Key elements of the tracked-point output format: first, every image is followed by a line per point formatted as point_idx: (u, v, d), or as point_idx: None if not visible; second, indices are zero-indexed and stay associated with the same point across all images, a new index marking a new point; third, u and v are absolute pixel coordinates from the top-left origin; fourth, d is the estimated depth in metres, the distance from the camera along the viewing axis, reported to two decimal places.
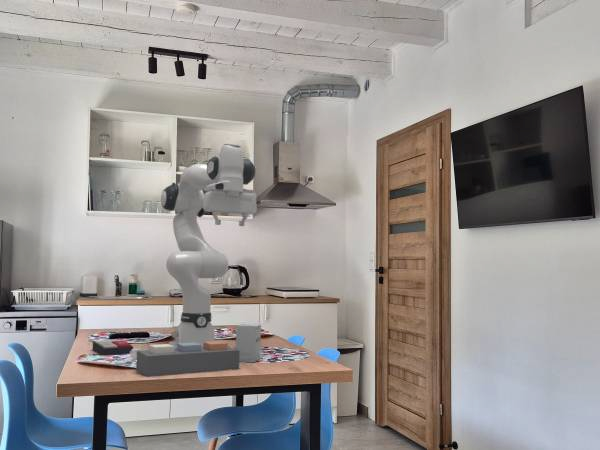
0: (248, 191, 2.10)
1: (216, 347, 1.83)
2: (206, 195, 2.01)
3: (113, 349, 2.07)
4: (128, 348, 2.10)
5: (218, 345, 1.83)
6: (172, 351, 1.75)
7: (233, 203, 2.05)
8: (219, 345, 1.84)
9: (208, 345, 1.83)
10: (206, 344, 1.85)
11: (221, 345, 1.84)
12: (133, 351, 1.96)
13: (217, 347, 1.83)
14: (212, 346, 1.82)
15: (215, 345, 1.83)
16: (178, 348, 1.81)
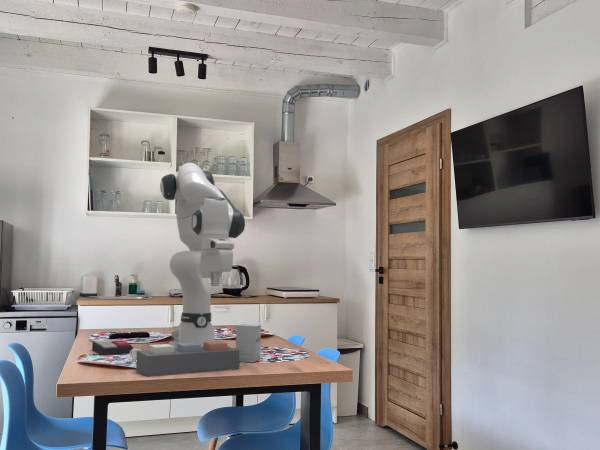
0: None
1: (216, 347, 1.83)
2: (227, 254, 1.80)
3: (113, 349, 2.07)
4: (128, 348, 2.10)
5: (218, 345, 1.83)
6: (172, 351, 1.75)
7: None
8: (219, 345, 1.84)
9: (208, 345, 1.83)
10: (206, 344, 1.85)
11: (221, 345, 1.84)
12: (133, 351, 1.96)
13: (217, 347, 1.83)
14: (212, 346, 1.82)
15: (215, 345, 1.83)
16: (178, 348, 1.81)
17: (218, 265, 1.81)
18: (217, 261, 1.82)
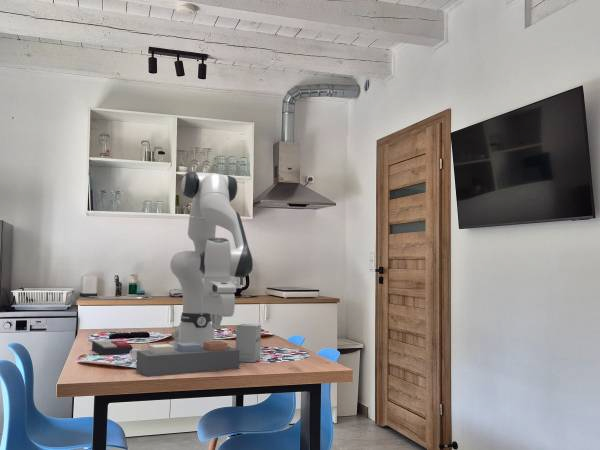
0: None
1: (216, 347, 1.83)
2: (229, 299, 1.79)
3: (113, 349, 2.07)
4: (128, 348, 2.11)
5: (218, 345, 1.83)
6: (172, 351, 1.75)
7: None
8: (219, 345, 1.84)
9: (208, 345, 1.83)
10: (206, 344, 1.85)
11: (221, 345, 1.84)
12: (133, 351, 1.95)
13: (217, 347, 1.83)
14: (212, 346, 1.82)
15: (215, 345, 1.83)
16: (178, 348, 1.81)
17: (220, 309, 1.80)
18: (219, 305, 1.81)
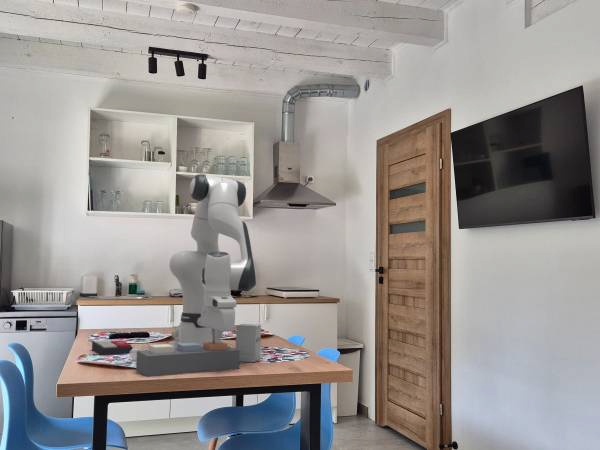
0: None
1: (216, 347, 1.83)
2: (229, 313, 1.79)
3: (112, 349, 2.07)
4: (127, 348, 2.11)
5: (218, 345, 1.83)
6: (172, 351, 1.75)
7: None
8: (219, 345, 1.83)
9: (208, 345, 1.83)
10: (206, 344, 1.85)
11: (221, 345, 1.84)
12: (133, 351, 1.95)
13: (217, 347, 1.83)
14: (212, 347, 1.82)
15: (215, 345, 1.83)
16: (178, 348, 1.81)
17: (220, 324, 1.79)
18: (219, 320, 1.80)
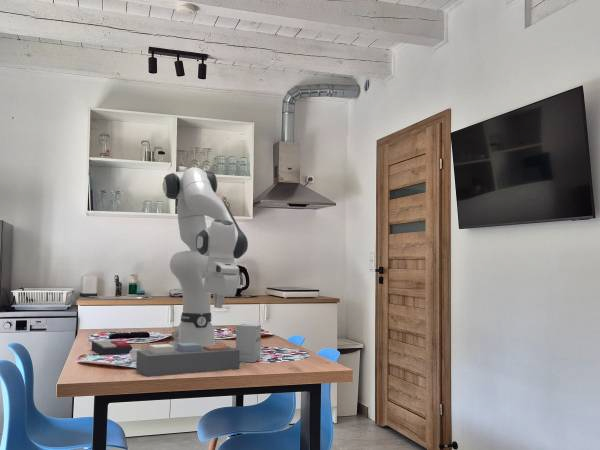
0: None
1: None
2: (232, 279, 1.85)
3: (112, 349, 2.08)
4: (127, 348, 2.11)
5: (218, 349, 1.83)
6: (172, 351, 1.75)
7: None
8: (219, 349, 1.83)
9: (208, 349, 1.83)
10: (206, 348, 1.84)
11: (221, 349, 1.84)
12: (133, 351, 1.95)
13: None
14: None
15: (215, 349, 1.83)
16: (178, 348, 1.81)
17: (223, 289, 1.85)
18: (222, 285, 1.86)
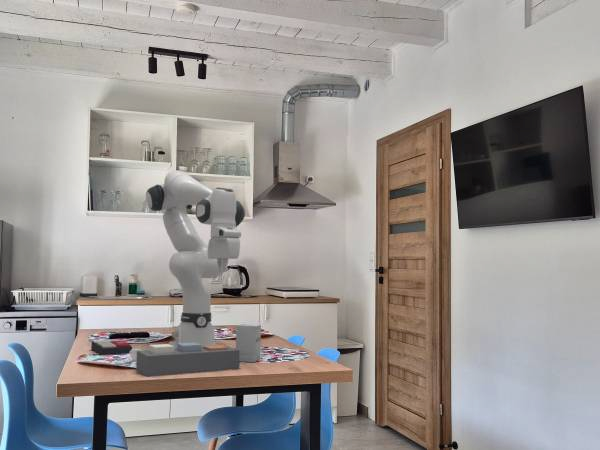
0: None
1: None
2: (234, 242, 1.92)
3: (112, 349, 2.08)
4: (127, 348, 2.11)
5: (218, 349, 1.83)
6: (172, 351, 1.75)
7: None
8: (219, 349, 1.83)
9: (208, 349, 1.83)
10: (206, 348, 1.84)
11: (221, 349, 1.84)
12: (132, 351, 1.95)
13: None
14: None
15: (215, 349, 1.83)
16: (178, 348, 1.81)
17: (226, 252, 1.93)
18: (225, 248, 1.94)
